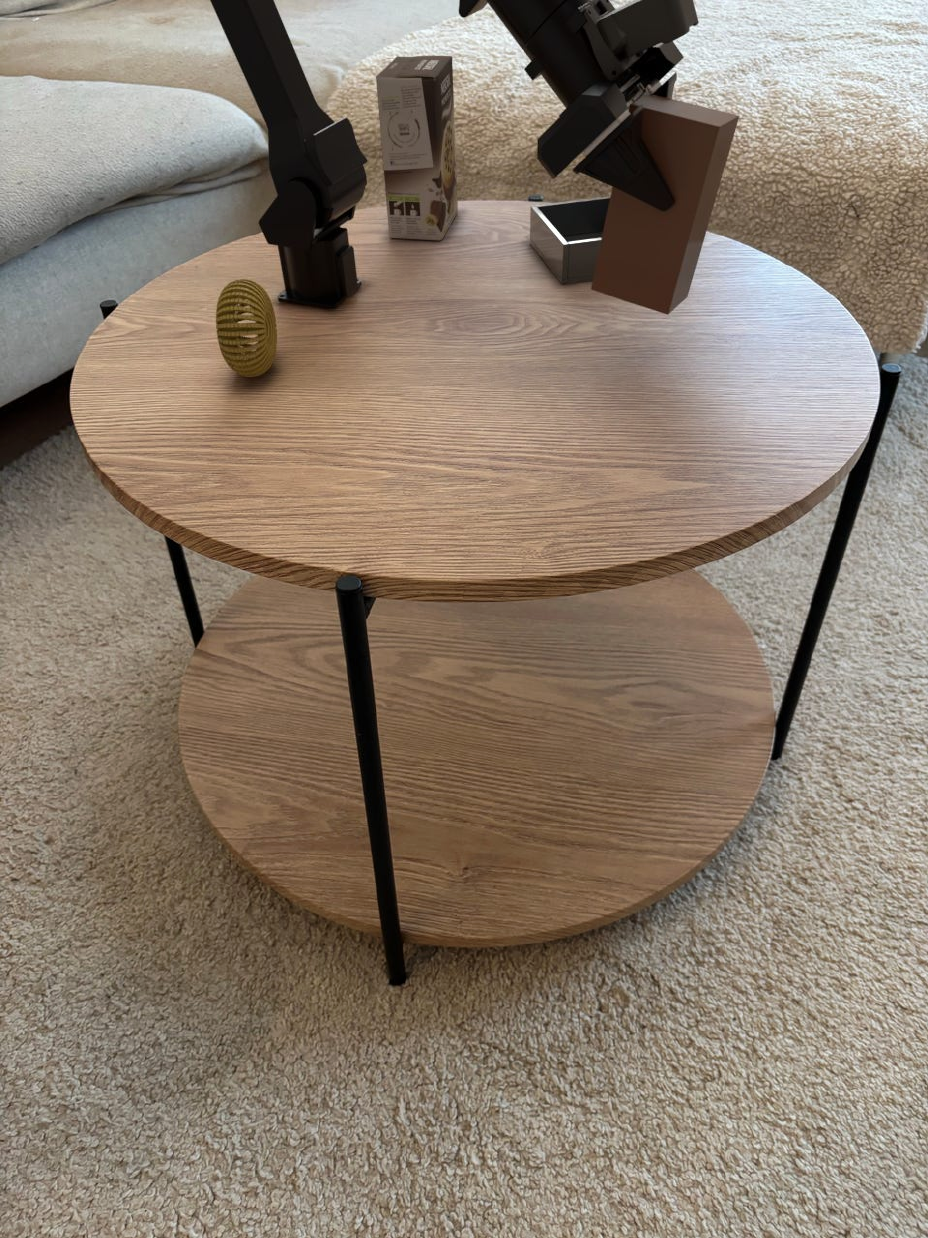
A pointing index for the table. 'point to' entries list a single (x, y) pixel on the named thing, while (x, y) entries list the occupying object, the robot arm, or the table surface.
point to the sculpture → (246, 328)
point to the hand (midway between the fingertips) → (679, 194)
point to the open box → (569, 236)
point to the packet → (666, 240)
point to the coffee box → (418, 145)
